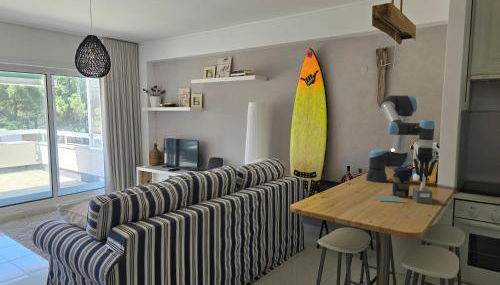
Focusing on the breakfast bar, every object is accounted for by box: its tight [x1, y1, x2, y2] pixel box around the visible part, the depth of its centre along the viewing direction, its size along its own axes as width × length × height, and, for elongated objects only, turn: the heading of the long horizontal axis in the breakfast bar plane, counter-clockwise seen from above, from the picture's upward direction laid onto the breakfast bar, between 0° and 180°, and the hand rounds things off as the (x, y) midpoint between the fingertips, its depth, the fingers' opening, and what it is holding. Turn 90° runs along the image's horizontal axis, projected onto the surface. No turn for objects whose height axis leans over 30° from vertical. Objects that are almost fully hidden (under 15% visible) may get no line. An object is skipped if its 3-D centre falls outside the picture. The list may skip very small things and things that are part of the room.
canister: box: [391, 167, 411, 198], centre depth 210 cm, size 10×10×18 cm
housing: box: [411, 187, 433, 204], centre depth 198 cm, size 8×8×7 cm
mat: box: [375, 194, 405, 203], centre depth 201 cm, size 12×13×1 cm
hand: (422, 187), depth 198 cm, fingers closed
